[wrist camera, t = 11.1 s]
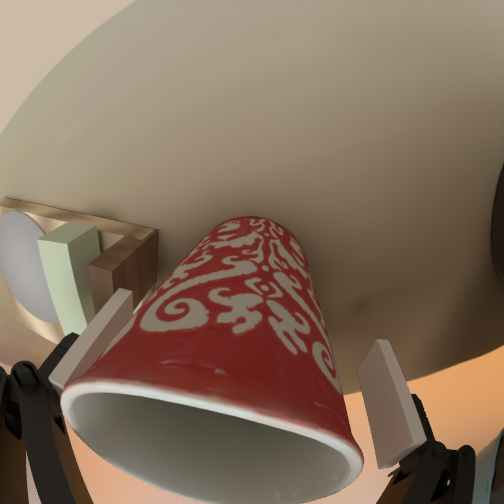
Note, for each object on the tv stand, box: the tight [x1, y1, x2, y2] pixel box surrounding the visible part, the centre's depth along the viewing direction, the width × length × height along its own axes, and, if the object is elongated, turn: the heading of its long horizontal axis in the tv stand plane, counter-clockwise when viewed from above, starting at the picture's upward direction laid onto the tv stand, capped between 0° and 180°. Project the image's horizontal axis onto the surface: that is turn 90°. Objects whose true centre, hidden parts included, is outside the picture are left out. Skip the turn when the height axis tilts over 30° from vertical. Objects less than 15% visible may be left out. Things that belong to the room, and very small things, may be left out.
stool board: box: [0, 198, 158, 344], centre depth 17 cm, size 18×14×6 cm
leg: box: [37, 223, 100, 336], centre depth 16 cm, size 15×4×4 cm, turn 175°
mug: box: [60, 217, 364, 504], centre depth 12 cm, size 13×9×14 cm
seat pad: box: [0, 210, 59, 323], centre depth 18 cm, size 11×11×1 cm
